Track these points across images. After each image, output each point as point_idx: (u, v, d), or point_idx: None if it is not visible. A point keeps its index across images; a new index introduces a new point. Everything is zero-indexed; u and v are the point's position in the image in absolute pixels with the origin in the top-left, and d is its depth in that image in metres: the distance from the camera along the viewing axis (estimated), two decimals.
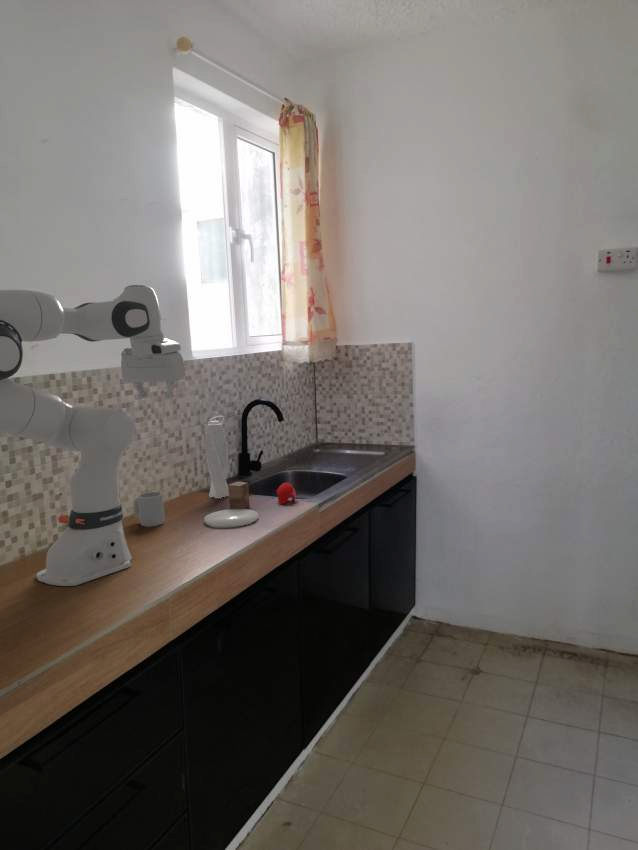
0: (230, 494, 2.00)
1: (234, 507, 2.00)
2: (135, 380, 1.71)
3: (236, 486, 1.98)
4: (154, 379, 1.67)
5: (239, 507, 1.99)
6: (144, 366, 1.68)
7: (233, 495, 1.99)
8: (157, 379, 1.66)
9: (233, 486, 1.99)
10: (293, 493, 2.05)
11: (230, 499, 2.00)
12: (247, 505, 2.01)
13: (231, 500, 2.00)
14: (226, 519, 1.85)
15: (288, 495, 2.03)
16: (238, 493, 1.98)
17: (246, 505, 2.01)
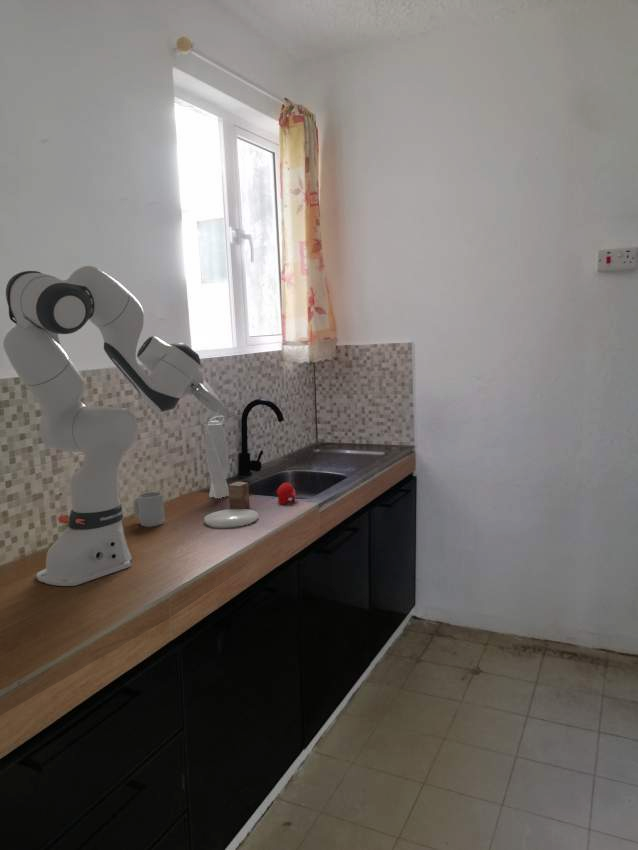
0: (230, 494, 2.00)
1: (234, 507, 2.00)
2: None
3: (236, 486, 1.98)
4: None
5: (239, 507, 1.99)
6: (205, 386, 1.79)
7: (233, 495, 1.99)
8: None
9: (233, 486, 1.99)
10: (293, 493, 2.05)
11: (230, 499, 2.00)
12: (247, 505, 2.01)
13: (231, 500, 2.00)
14: (226, 519, 1.85)
15: (288, 495, 2.03)
16: (238, 493, 1.98)
17: (246, 505, 2.01)
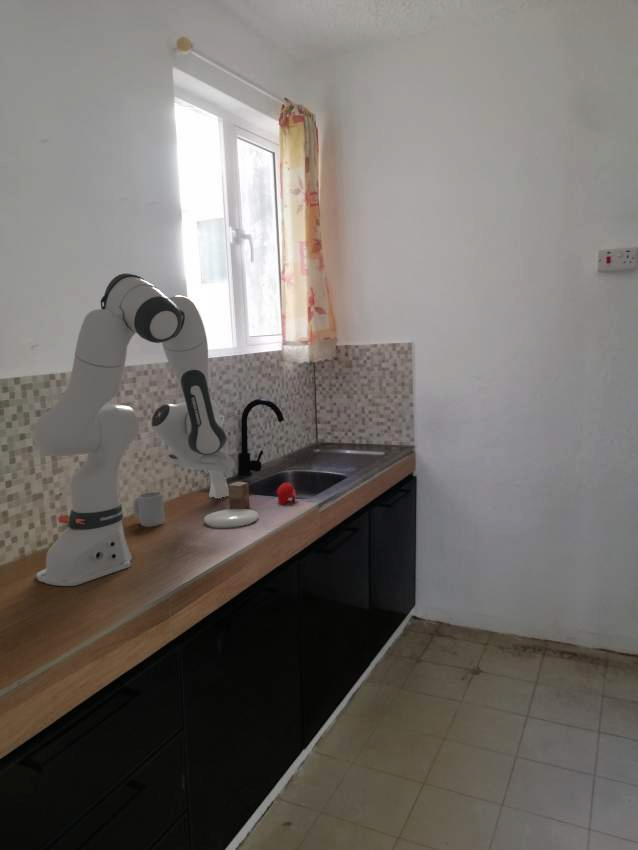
0: (230, 494, 2.00)
1: (234, 507, 2.00)
2: None
3: (236, 486, 1.98)
4: None
5: (239, 507, 1.99)
6: None
7: (233, 495, 1.99)
8: None
9: (233, 486, 1.99)
10: (293, 493, 2.05)
11: (230, 499, 2.00)
12: (247, 505, 2.01)
13: (231, 500, 2.00)
14: (226, 519, 1.85)
15: (288, 495, 2.03)
16: (238, 493, 1.98)
17: (246, 505, 2.01)
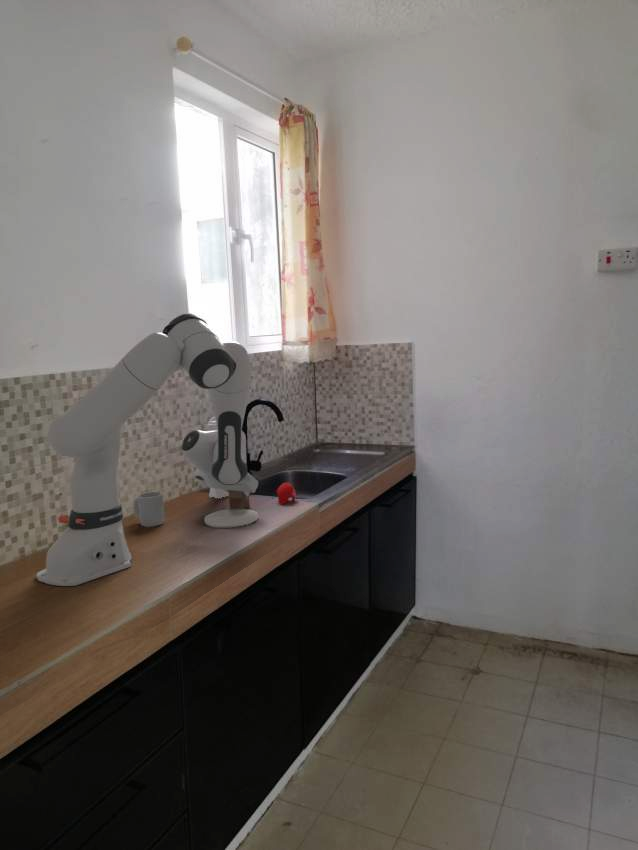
0: (230, 494, 2.00)
1: (234, 507, 2.00)
2: None
3: None
4: None
5: (239, 507, 1.99)
6: None
7: (233, 495, 1.99)
8: None
9: None
10: (293, 493, 2.05)
11: (230, 499, 2.00)
12: (247, 505, 2.01)
13: (231, 500, 2.00)
14: (226, 519, 1.85)
15: (288, 495, 2.03)
16: (238, 493, 1.98)
17: (246, 505, 2.01)
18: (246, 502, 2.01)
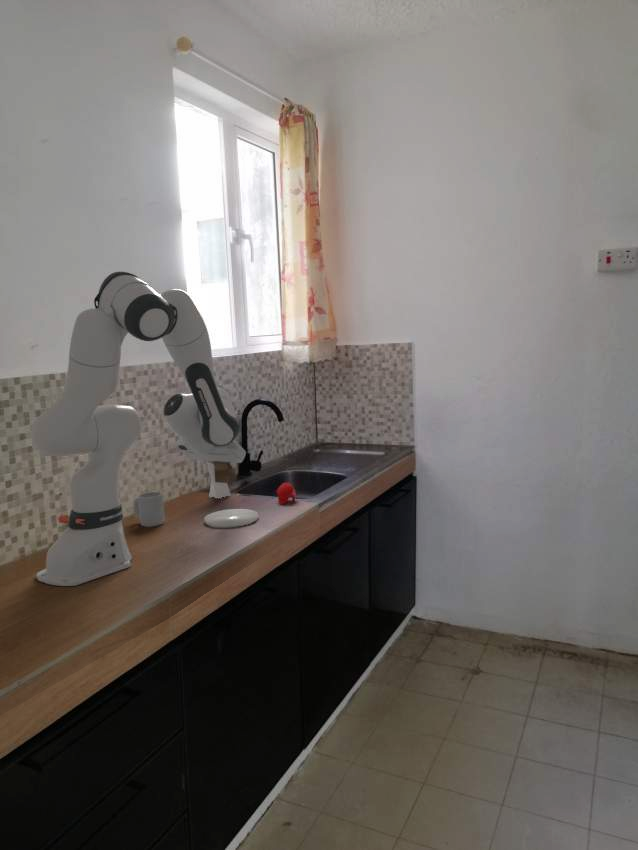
0: (215, 466, 1.87)
1: (220, 480, 1.87)
2: None
3: None
4: None
5: (225, 479, 1.86)
6: None
7: (218, 467, 1.86)
8: None
9: None
10: (293, 493, 2.05)
11: (215, 471, 1.87)
12: (234, 478, 1.89)
13: (216, 472, 1.87)
14: (226, 519, 1.85)
15: (288, 495, 2.03)
16: (224, 464, 1.85)
17: (233, 478, 1.88)
18: (232, 475, 1.88)
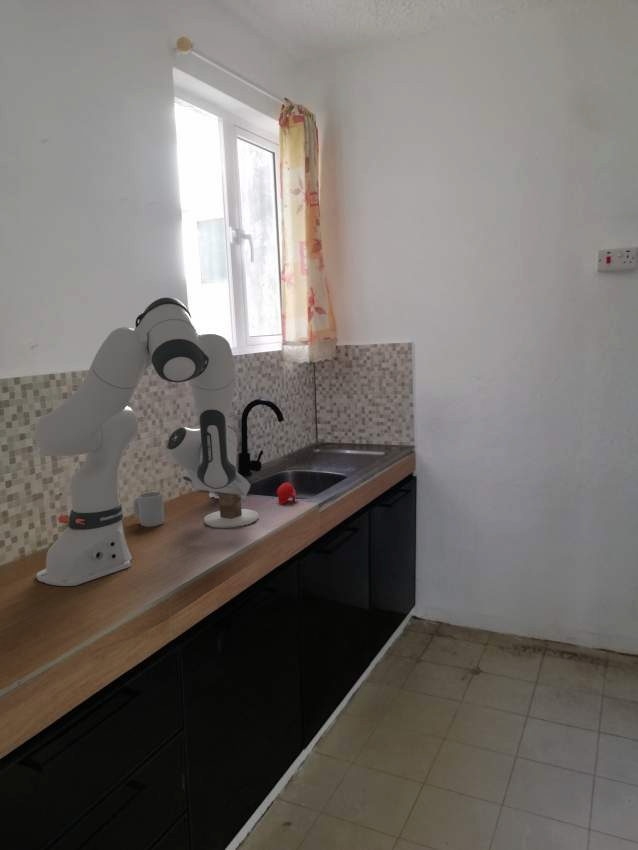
0: (220, 501, 1.87)
1: (224, 515, 1.86)
2: None
3: (226, 493, 1.85)
4: None
5: (229, 515, 1.85)
6: None
7: (223, 503, 1.86)
8: None
9: (223, 493, 1.85)
10: (293, 493, 2.05)
11: (220, 506, 1.87)
12: (239, 513, 1.88)
13: (221, 507, 1.87)
14: (226, 519, 1.85)
15: (288, 495, 2.03)
16: (229, 500, 1.84)
17: (238, 513, 1.87)
18: (237, 510, 1.87)
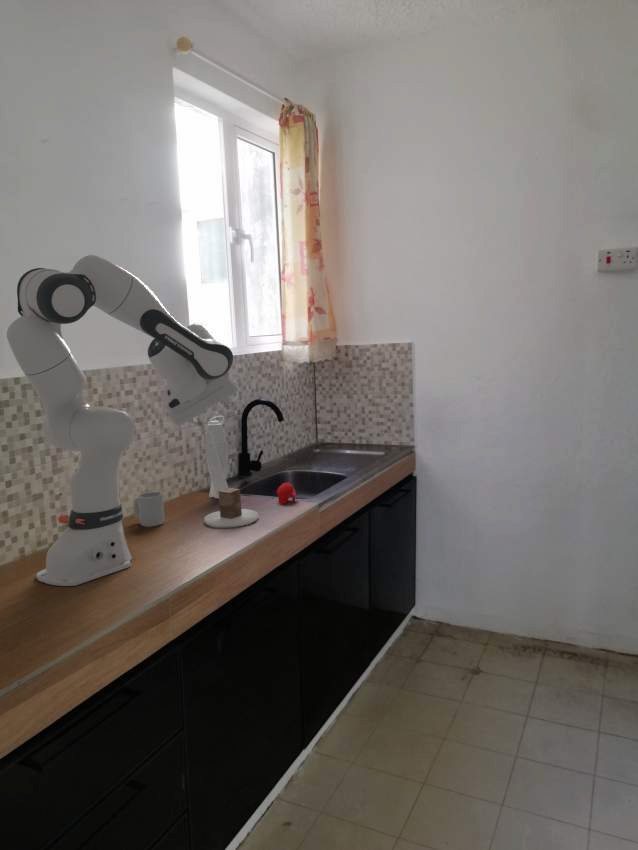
0: (220, 501, 1.87)
1: (224, 515, 1.86)
2: None
3: (226, 493, 1.85)
4: None
5: (229, 515, 1.85)
6: None
7: (223, 503, 1.86)
8: None
9: (223, 493, 1.85)
10: (293, 493, 2.05)
11: (220, 506, 1.87)
12: (239, 513, 1.88)
13: (221, 507, 1.87)
14: (226, 519, 1.85)
15: (288, 495, 2.03)
16: (229, 500, 1.84)
17: (238, 513, 1.87)
18: (237, 510, 1.87)
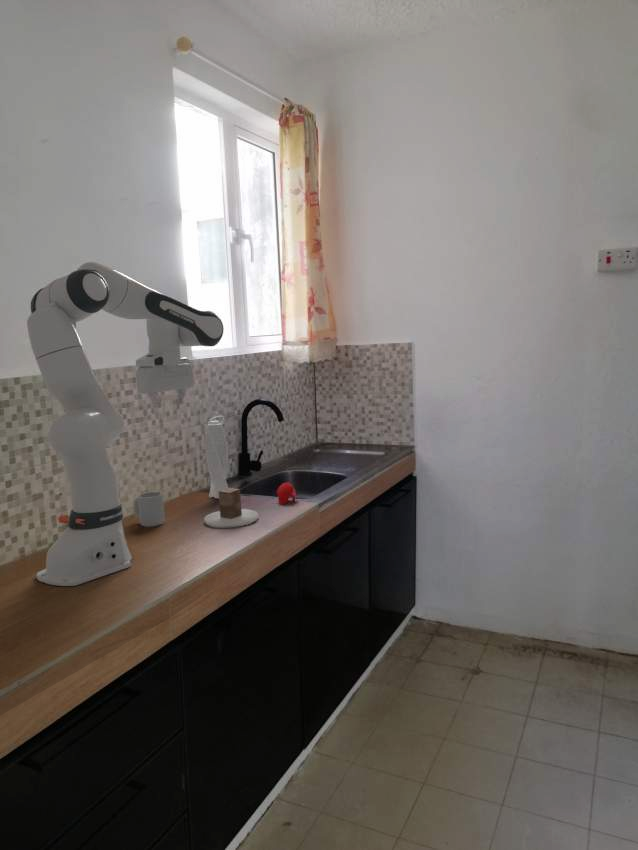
0: (220, 501, 1.87)
1: (224, 515, 1.86)
2: None
3: (226, 493, 1.85)
4: None
5: (229, 515, 1.85)
6: None
7: (223, 503, 1.86)
8: None
9: (223, 493, 1.85)
10: (293, 493, 2.05)
11: (220, 506, 1.87)
12: (239, 513, 1.88)
13: (221, 507, 1.87)
14: (226, 519, 1.85)
15: (288, 495, 2.03)
16: (229, 500, 1.84)
17: (238, 513, 1.87)
18: (237, 510, 1.87)
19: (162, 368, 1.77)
